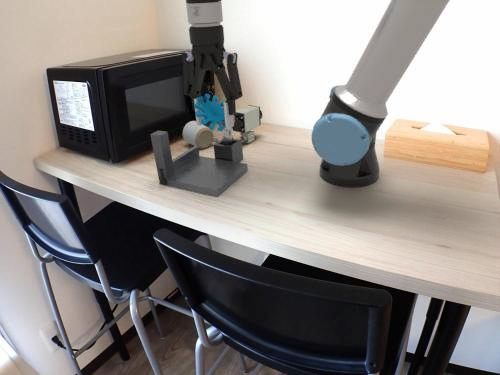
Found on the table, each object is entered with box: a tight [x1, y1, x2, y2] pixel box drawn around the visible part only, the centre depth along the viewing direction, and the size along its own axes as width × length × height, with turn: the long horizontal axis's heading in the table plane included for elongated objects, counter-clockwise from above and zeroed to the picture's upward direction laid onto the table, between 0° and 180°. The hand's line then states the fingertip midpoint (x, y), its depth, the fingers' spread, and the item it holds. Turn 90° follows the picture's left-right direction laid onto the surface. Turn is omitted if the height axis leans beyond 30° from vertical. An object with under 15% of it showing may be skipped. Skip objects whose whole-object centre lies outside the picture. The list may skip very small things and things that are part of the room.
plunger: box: [221, 115, 235, 146], centre depth 105 cm, size 5×5×9 cm
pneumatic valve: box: [232, 104, 263, 145], centre depth 120 cm, size 6×12×12 cm, turn 143°
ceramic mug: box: [182, 120, 219, 149], centre depth 121 cm, size 11×8×8 cm
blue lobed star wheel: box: [194, 93, 226, 132], centre depth 91 cm, size 11×6×10 cm
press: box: [150, 130, 249, 198], centre depth 100 cm, size 18×22×14 cm
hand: (215, 125), depth 91 cm, fingers closed on blue lobed star wheel, 8 cm apart
